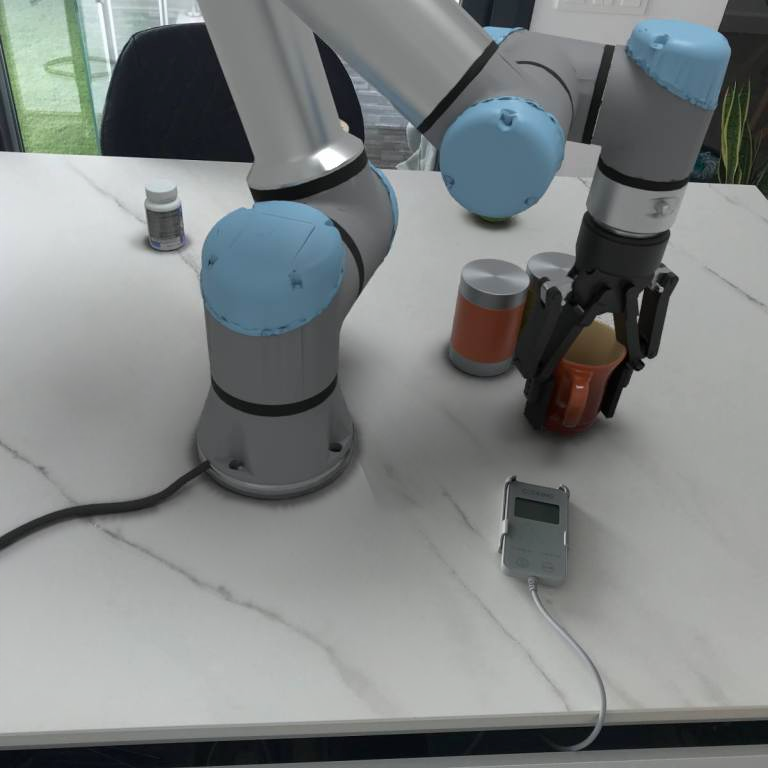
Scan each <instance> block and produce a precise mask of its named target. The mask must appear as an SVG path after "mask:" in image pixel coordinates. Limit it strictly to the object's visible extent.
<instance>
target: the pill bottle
mask: <svg viewBox="0 0 768 768" xmlns="http://www.w3.org/2000/svg"><path fill="white" fill-rule="evenodd" d="M144 190H145V197H146V198H145V200H144V202H143V203H144V204H143V205H144V211H145V212H144V213H145V219H146V225H147V233H148V240H149V244H150V246H151V247H152V248H154V249H156V250H159V251H175V250H178V249H180V248H182V247H183V246H184V244H185V242H186V233H185V225H184V215H183V206H182V199H181V198H180V197H179V195H178V185H177V183H176V181H173V180H171V179H166V178H158V179H153V180H149V181H148V182H147V183H145V186H144Z"/></svg>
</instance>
